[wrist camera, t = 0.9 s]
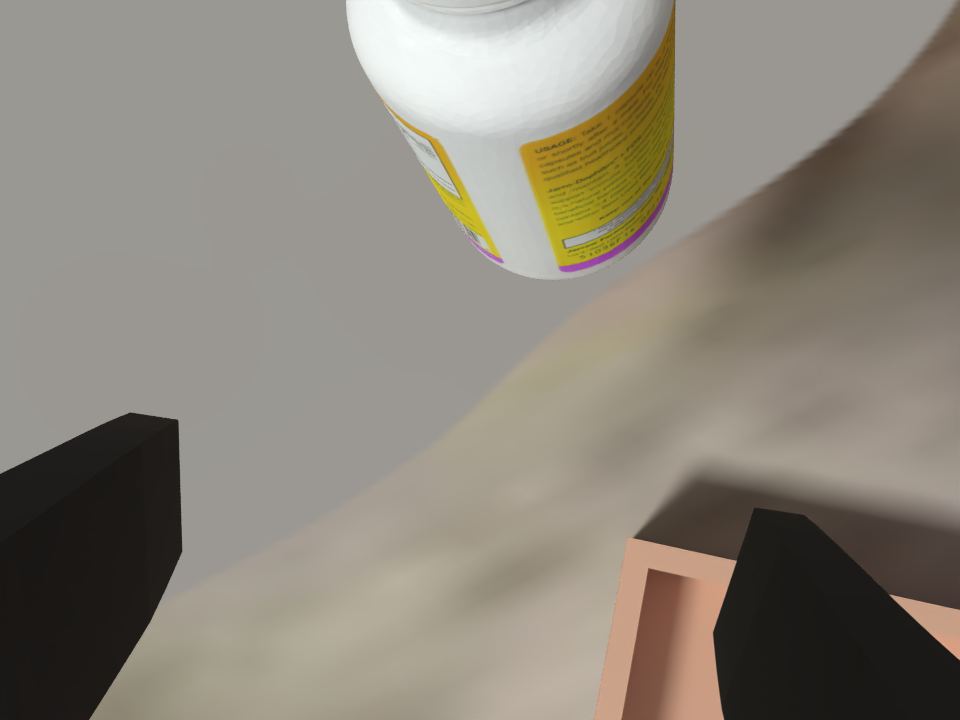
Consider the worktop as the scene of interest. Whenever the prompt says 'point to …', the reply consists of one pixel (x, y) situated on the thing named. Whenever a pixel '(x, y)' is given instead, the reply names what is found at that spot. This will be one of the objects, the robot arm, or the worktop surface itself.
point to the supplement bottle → (532, 118)
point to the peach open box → (687, 634)
